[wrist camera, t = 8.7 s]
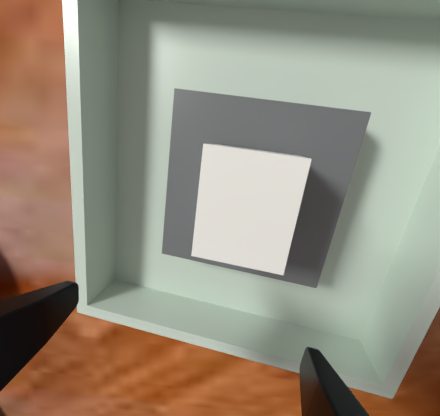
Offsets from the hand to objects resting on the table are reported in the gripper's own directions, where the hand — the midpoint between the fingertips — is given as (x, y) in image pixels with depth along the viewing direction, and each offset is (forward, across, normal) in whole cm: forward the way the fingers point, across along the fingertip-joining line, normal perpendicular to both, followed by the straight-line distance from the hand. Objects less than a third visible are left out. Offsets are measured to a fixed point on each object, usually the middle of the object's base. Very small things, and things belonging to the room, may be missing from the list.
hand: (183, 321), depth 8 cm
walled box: (+13, -1, -4) cm, 13 cm away
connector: (+12, -1, -4) cm, 12 cm away
